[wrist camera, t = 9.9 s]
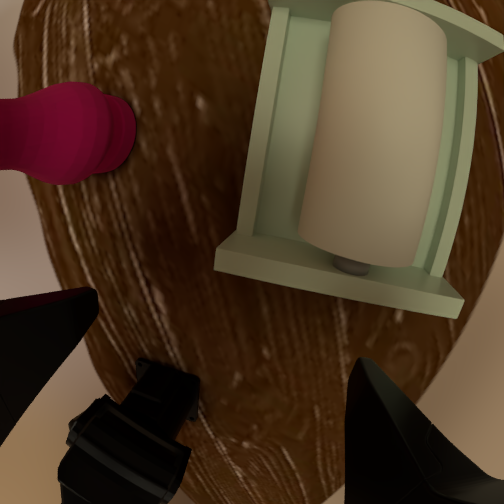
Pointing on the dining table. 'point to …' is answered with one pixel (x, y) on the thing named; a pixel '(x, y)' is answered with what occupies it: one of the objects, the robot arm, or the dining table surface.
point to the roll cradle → (299, 156)
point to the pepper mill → (65, 133)
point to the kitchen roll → (376, 134)
